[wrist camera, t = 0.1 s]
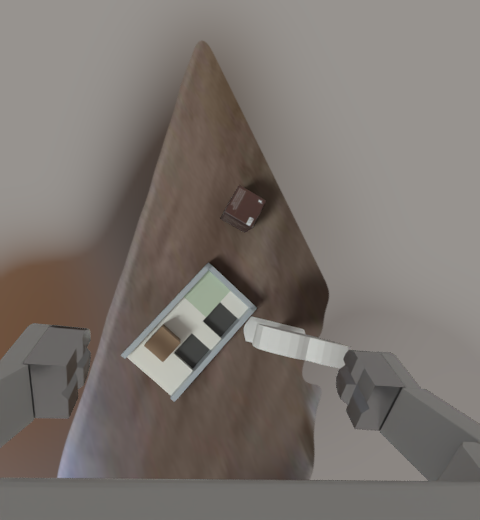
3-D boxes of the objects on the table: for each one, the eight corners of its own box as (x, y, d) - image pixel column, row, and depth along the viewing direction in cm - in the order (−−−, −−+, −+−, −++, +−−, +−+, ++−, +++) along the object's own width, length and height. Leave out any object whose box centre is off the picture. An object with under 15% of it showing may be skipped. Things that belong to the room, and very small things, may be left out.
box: (233, 193, 66) (239, 183, 59) (258, 208, 67) (267, 200, 60) (219, 219, 65) (223, 211, 58) (244, 233, 66) (252, 228, 59)
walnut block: (163, 323, 61) (162, 326, 57) (180, 339, 61) (180, 343, 58) (146, 341, 60) (143, 345, 57) (164, 357, 60) (162, 362, 57)
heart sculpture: (312, 331, 67) (359, 344, 50) (307, 355, 67) (353, 377, 49) (242, 314, 65) (265, 321, 47) (236, 338, 64) (258, 355, 47)
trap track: (207, 263, 64) (208, 262, 61) (253, 306, 66) (257, 308, 63) (124, 351, 61) (121, 355, 58) (174, 396, 62) (174, 401, 59)
